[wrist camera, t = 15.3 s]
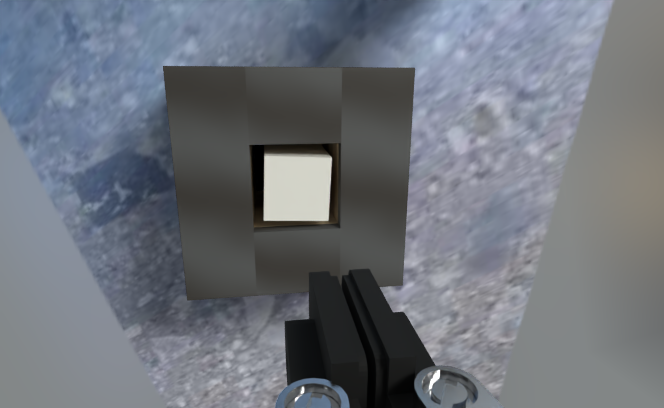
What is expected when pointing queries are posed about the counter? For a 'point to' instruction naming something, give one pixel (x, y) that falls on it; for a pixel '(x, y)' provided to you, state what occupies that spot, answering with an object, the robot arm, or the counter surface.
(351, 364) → the robot arm
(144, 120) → the counter surface
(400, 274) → the socket
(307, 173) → the peg
